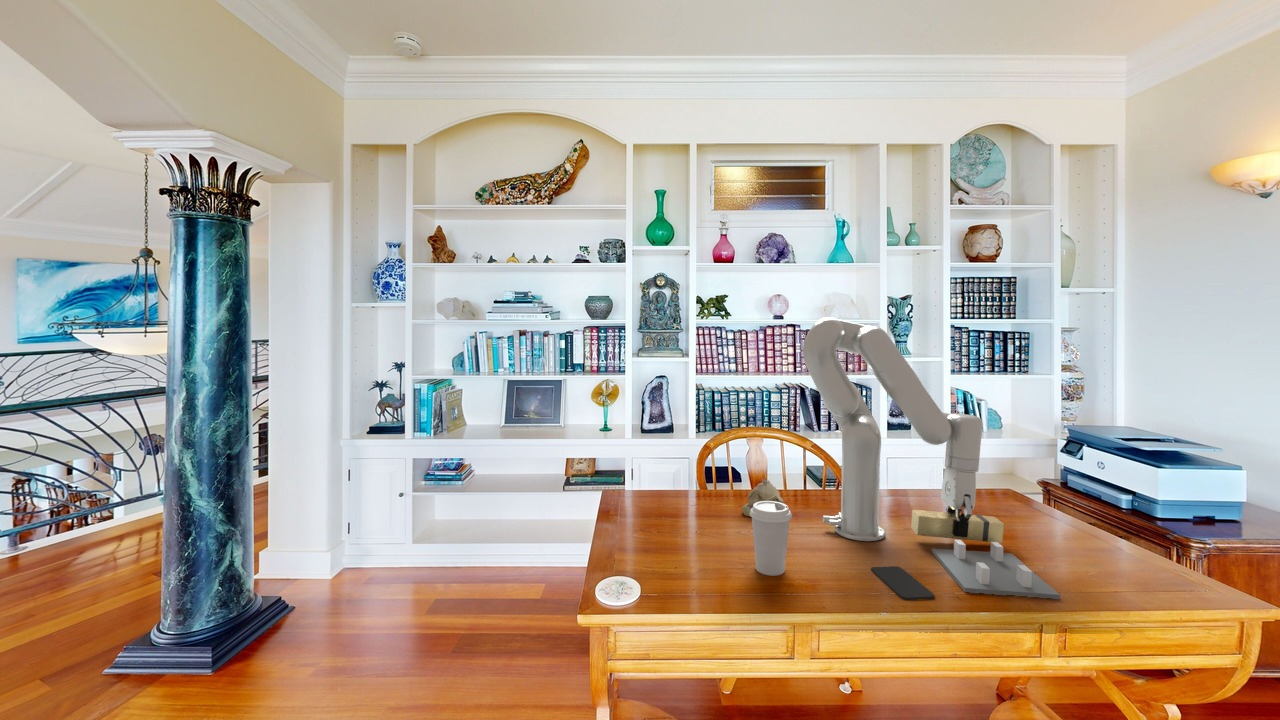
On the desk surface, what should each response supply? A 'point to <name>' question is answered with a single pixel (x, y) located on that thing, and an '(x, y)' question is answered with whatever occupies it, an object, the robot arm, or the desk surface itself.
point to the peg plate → (992, 572)
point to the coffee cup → (770, 536)
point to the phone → (902, 583)
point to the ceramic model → (762, 495)
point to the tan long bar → (944, 524)
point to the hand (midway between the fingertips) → (955, 531)
